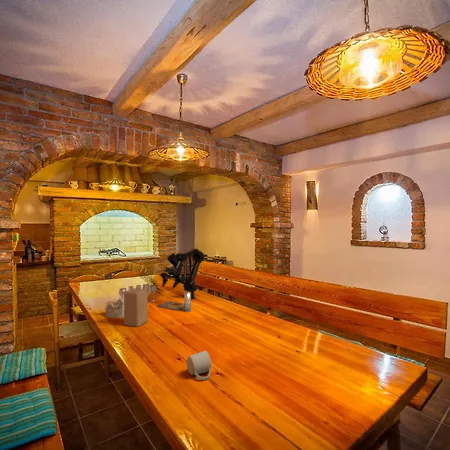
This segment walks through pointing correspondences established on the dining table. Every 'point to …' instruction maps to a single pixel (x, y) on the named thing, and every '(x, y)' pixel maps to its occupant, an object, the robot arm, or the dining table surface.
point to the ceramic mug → (199, 364)
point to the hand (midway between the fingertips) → (167, 287)
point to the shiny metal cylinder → (187, 301)
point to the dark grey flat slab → (172, 305)
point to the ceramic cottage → (115, 308)
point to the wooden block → (135, 307)
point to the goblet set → (145, 286)
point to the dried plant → (150, 279)
